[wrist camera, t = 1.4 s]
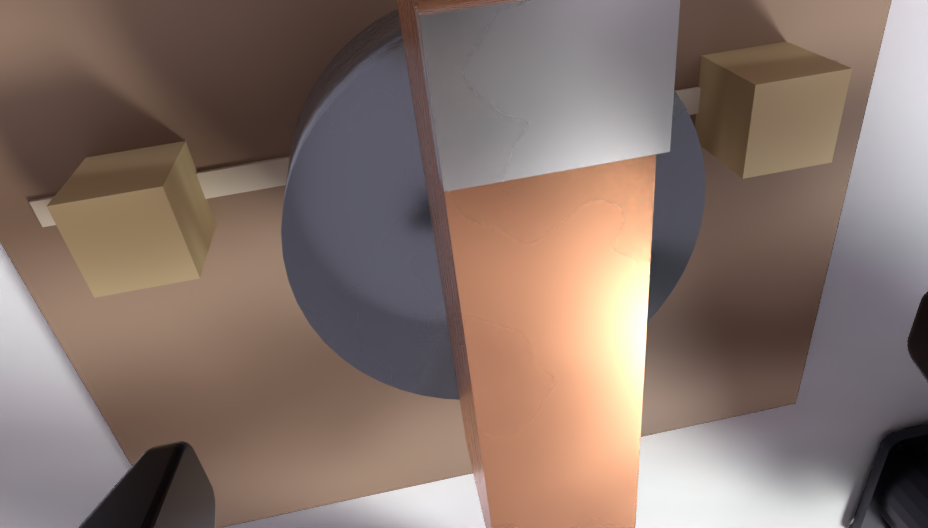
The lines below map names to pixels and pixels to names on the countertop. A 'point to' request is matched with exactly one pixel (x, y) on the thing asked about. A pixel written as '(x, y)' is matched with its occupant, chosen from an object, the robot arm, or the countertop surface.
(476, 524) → the countertop surface
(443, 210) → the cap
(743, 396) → the post board
